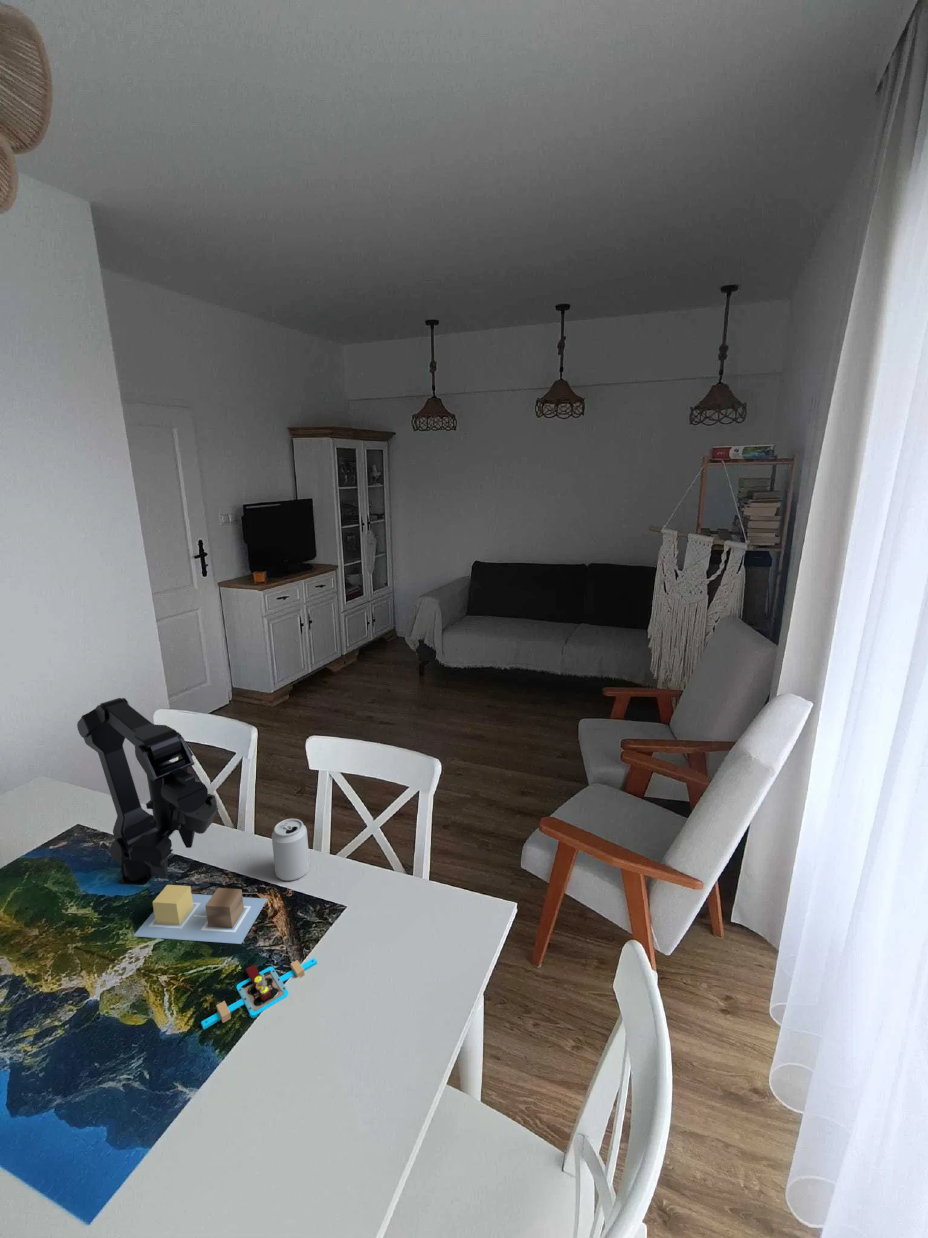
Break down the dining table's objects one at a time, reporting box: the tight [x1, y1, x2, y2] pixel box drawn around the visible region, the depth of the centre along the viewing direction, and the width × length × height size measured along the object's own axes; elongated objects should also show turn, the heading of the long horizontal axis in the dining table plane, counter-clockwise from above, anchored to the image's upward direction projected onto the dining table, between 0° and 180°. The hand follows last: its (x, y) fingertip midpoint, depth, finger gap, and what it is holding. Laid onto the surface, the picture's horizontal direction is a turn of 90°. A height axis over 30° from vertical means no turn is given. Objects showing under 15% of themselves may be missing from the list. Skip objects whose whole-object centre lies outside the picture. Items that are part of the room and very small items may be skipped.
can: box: [271, 818, 311, 882], centre depth 129 cm, size 8×8×12 cm
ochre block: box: [152, 884, 193, 925], centre depth 117 cm, size 5×5×5 cm
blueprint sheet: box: [133, 893, 268, 945], centre depth 117 cm, size 22×12×1 cm, turn 84°
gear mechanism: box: [200, 957, 318, 1030], centre depth 101 cm, size 20×5×9 cm
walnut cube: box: [205, 887, 244, 928], centre depth 116 cm, size 5×5×5 cm
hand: (177, 862), depth 116 cm, fingers open, 9 cm apart
